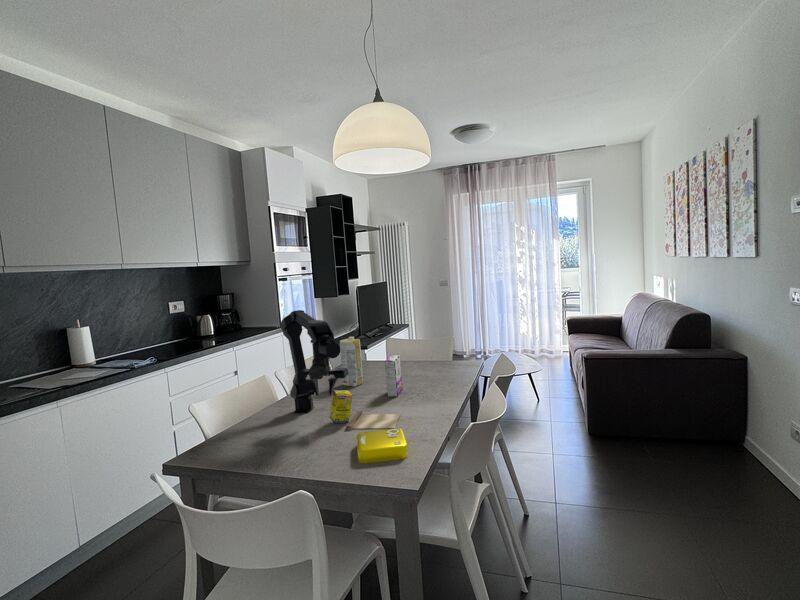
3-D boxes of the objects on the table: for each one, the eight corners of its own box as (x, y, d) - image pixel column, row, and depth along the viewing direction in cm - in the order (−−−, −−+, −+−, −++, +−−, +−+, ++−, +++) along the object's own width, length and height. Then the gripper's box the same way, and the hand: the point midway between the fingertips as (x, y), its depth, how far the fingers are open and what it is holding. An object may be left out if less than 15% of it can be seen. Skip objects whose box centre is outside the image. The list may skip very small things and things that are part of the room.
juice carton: (365, 383, 217) (361, 336, 216) (355, 387, 211) (351, 338, 209) (350, 381, 222) (347, 335, 221) (340, 385, 216) (337, 338, 214)
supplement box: (333, 423, 160) (337, 395, 159) (329, 417, 165) (333, 389, 164) (349, 423, 163) (352, 395, 162) (344, 416, 168) (347, 389, 167)
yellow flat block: (357, 445, 143) (356, 431, 142) (402, 440, 144) (401, 426, 144) (358, 465, 128) (357, 449, 127) (408, 459, 129) (407, 444, 129)
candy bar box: (392, 389, 203) (389, 355, 202) (402, 389, 202) (400, 355, 201) (386, 397, 192) (384, 360, 191) (397, 396, 191) (395, 360, 190)
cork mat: (350, 429, 156) (350, 428, 156) (360, 415, 170) (360, 414, 170) (394, 428, 154) (394, 427, 154) (400, 415, 167) (400, 414, 167)
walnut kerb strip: (346, 430, 155) (345, 426, 155) (357, 414, 171) (357, 411, 171) (351, 430, 155) (351, 426, 155) (362, 414, 171) (361, 410, 171)
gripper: (288, 360, 157) (292, 402, 158) (338, 358, 154) (341, 401, 155) (300, 354, 168) (304, 394, 169) (347, 352, 165) (350, 393, 166)
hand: (324, 395), depth 164 cm, fingers open, 5 cm apart
